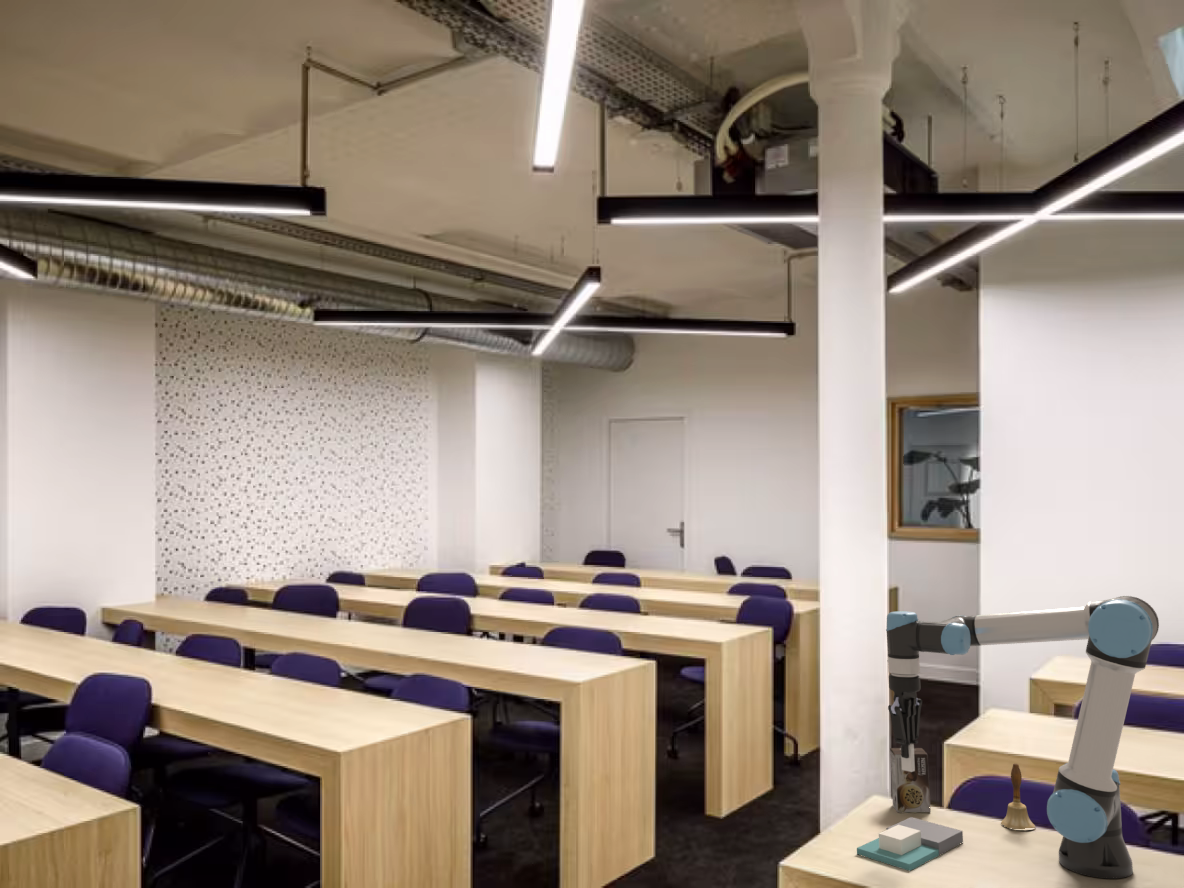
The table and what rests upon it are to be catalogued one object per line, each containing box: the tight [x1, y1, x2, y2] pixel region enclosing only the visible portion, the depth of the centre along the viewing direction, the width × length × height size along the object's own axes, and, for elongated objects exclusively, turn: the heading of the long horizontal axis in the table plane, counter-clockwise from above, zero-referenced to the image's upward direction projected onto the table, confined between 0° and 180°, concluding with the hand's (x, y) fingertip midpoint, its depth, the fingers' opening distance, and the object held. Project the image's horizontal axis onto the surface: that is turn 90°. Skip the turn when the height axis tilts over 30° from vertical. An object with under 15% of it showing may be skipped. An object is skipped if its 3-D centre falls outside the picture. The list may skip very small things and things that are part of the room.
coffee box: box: [889, 747, 932, 814], centre depth 254 cm, size 9×6×16 cm
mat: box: [856, 837, 940, 872], centre depth 221 cm, size 14×13×2 cm
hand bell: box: [1000, 763, 1036, 829], centre depth 240 cm, size 8×8×16 cm
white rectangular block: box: [878, 825, 921, 855], centre depth 222 cm, size 6×9×4 cm, turn 131°
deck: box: [886, 816, 964, 856], centre depth 229 cm, size 14×12×3 cm
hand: (908, 770), depth 227 cm, fingers closed
